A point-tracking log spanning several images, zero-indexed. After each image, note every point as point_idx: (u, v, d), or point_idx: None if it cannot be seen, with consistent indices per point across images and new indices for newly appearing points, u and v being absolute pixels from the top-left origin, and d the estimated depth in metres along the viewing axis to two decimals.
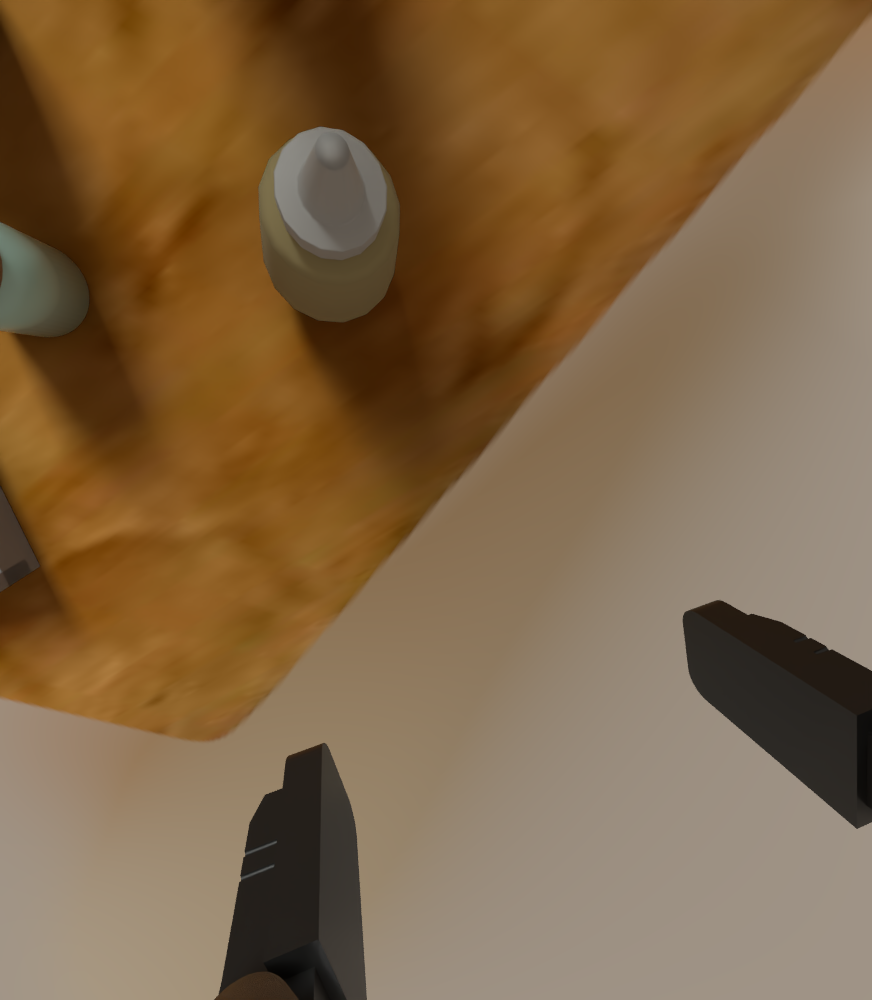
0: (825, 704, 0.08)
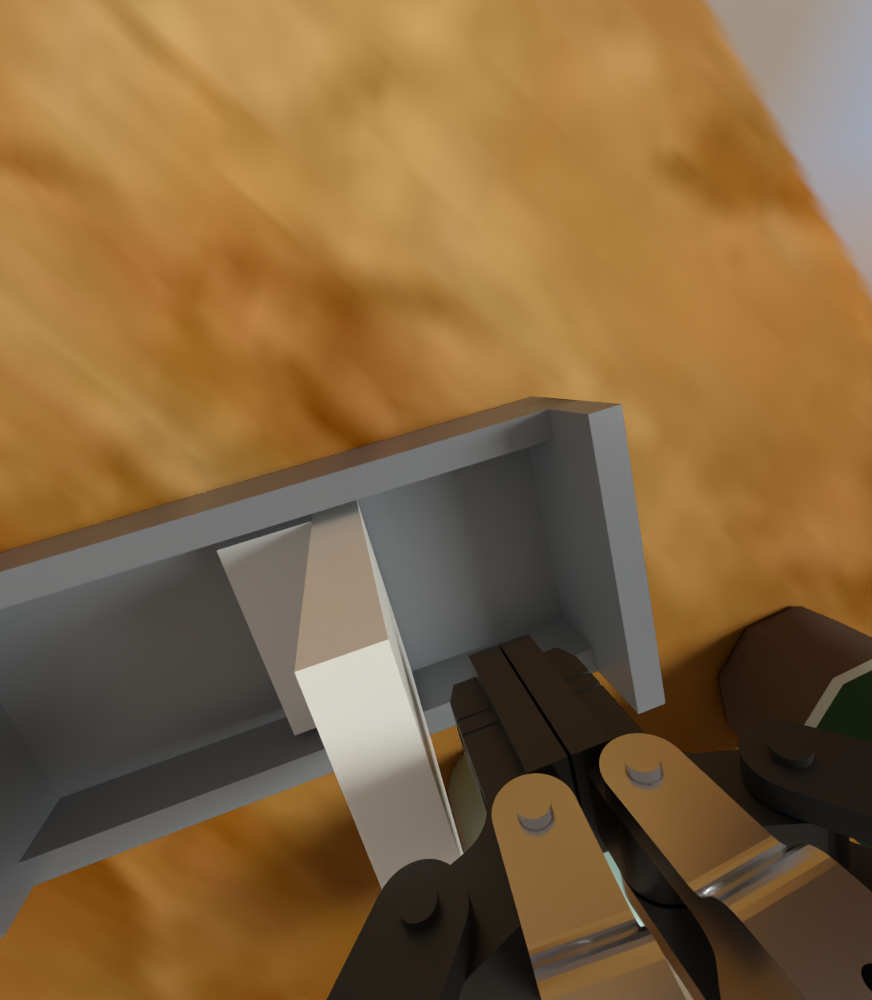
0: (560, 741, 0.08)
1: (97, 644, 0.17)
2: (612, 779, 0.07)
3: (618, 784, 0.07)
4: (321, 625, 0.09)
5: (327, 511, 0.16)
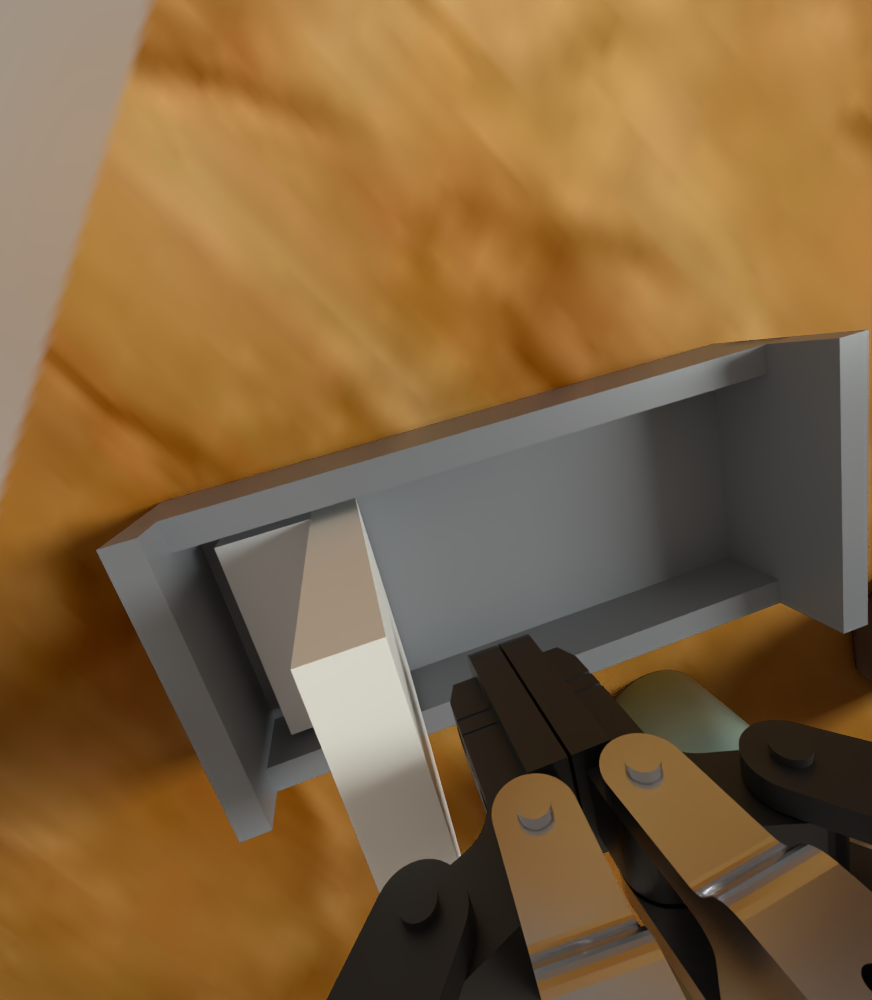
0: (560, 742, 0.08)
1: None
2: (612, 779, 0.07)
3: (618, 784, 0.07)
4: (319, 622, 0.09)
5: (326, 509, 0.16)
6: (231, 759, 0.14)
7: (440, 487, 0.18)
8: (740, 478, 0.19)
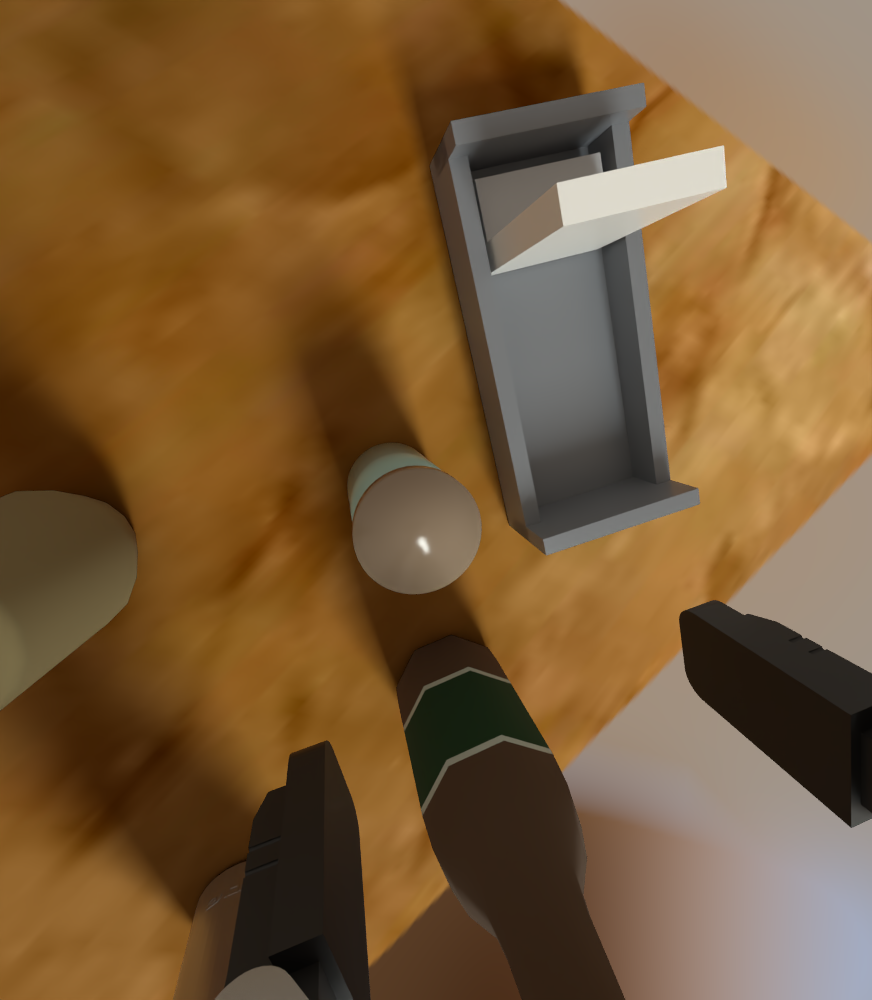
0: (819, 703, 0.08)
1: None
2: None
3: None
4: None
5: None
6: (512, 128, 0.23)
7: (592, 305, 0.30)
8: (585, 497, 0.32)
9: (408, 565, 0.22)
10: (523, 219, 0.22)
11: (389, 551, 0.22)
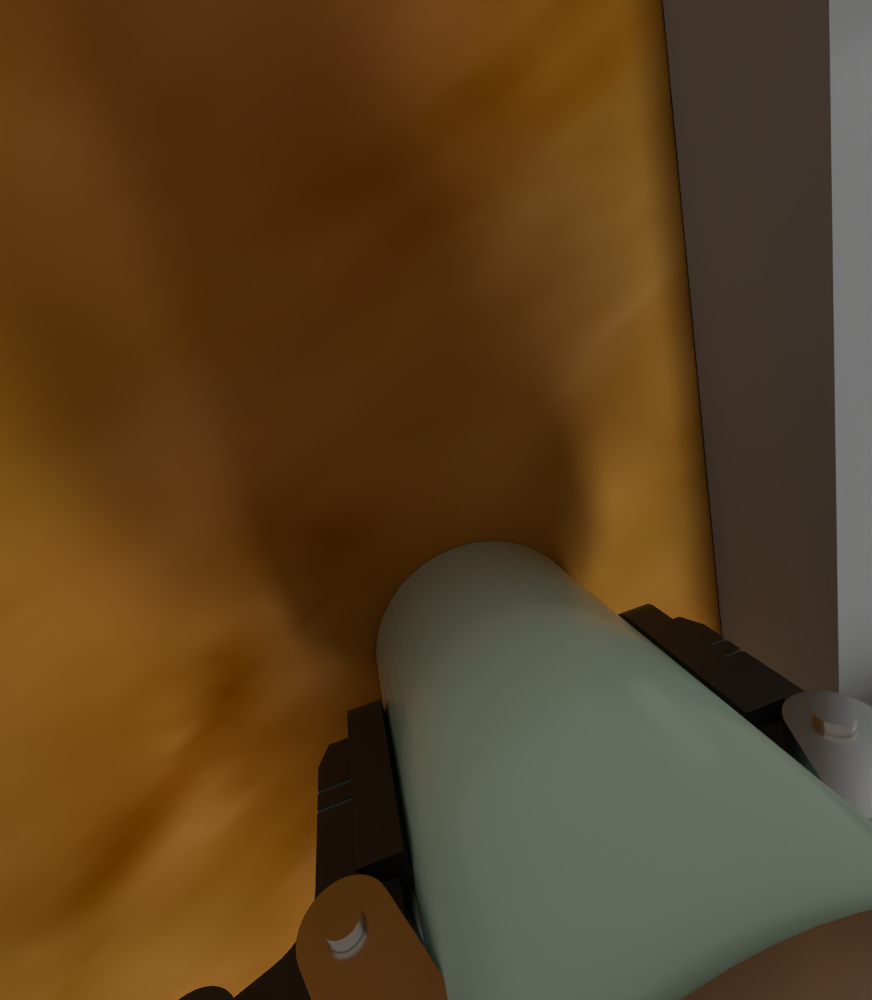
0: None
1: None
2: (792, 720, 0.07)
3: (814, 738, 0.07)
4: None
5: None
6: None
7: None
8: None
9: None
10: None
11: None
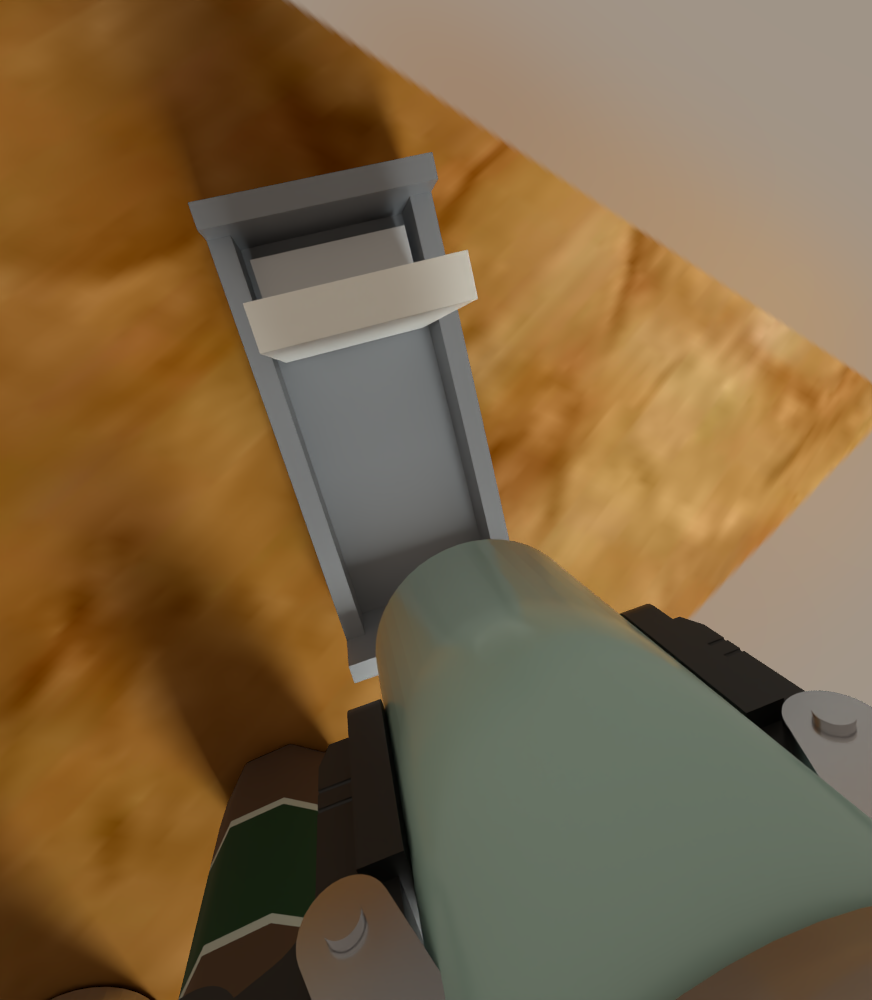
0: None
1: None
2: (792, 720, 0.07)
3: (813, 738, 0.07)
4: None
5: None
6: (269, 209, 0.20)
7: (422, 388, 0.27)
8: None
9: None
10: None
11: None
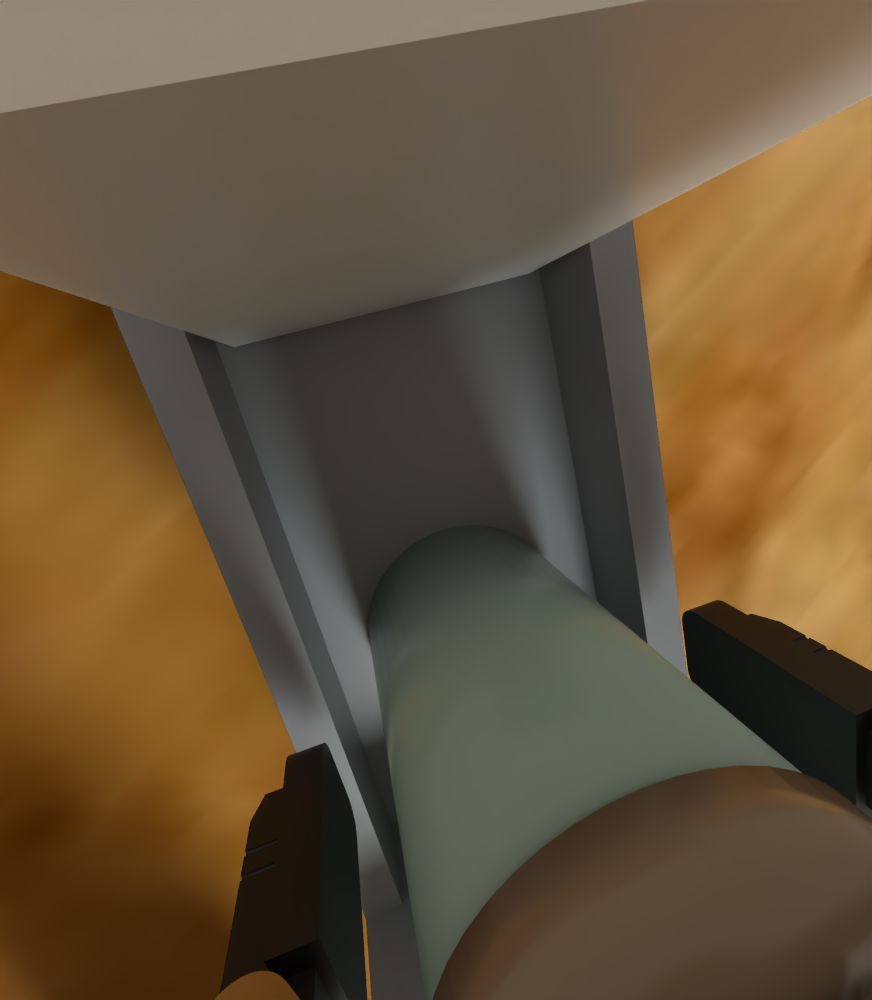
0: (825, 704, 0.08)
1: None
2: None
3: None
4: None
5: None
6: None
7: (520, 402, 0.13)
8: None
9: None
10: None
11: None
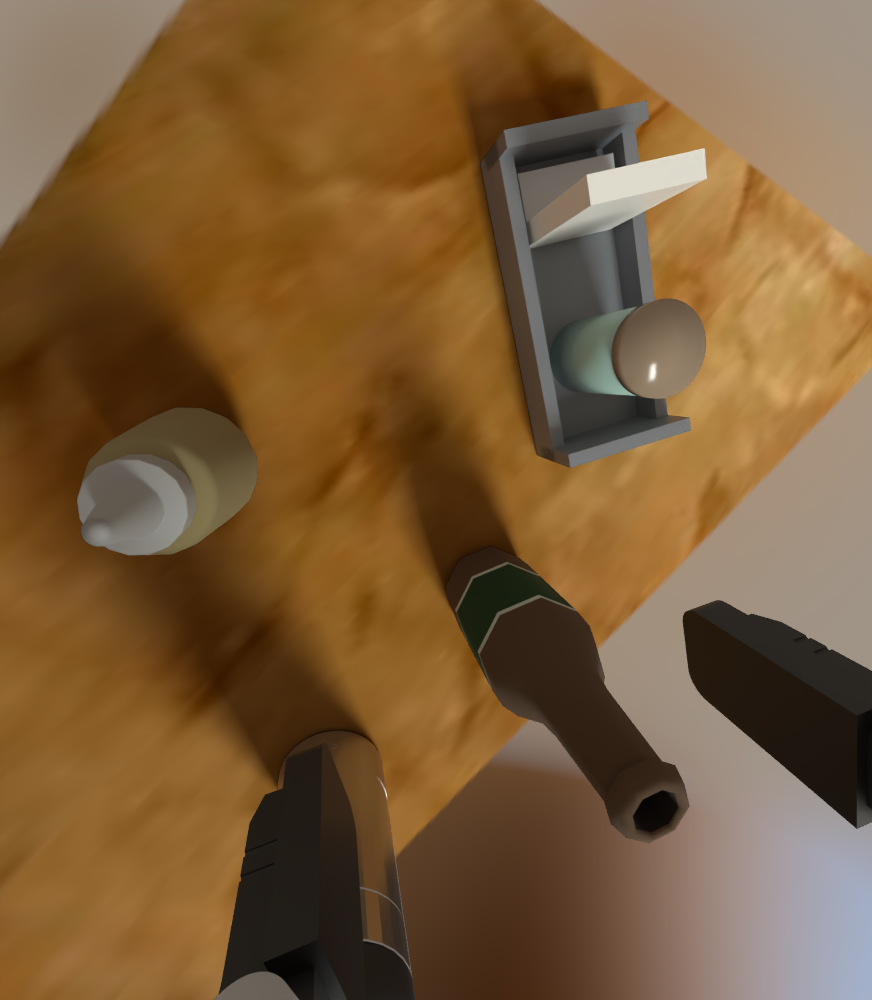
0: (825, 704, 0.08)
1: None
2: None
3: None
4: None
5: None
6: (549, 135, 0.31)
7: (605, 274, 0.38)
8: (599, 430, 0.40)
9: (654, 374, 0.30)
10: (558, 202, 0.30)
11: (643, 362, 0.30)
